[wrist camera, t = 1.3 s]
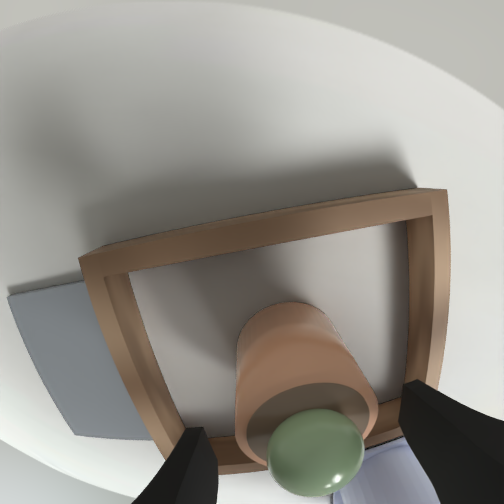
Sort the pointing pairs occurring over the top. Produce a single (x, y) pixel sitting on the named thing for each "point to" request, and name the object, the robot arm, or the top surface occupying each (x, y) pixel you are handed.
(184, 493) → the robot arm
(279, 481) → the terracotta pot
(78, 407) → the mat
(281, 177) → the top surface
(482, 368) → the top surface
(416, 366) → the frame
